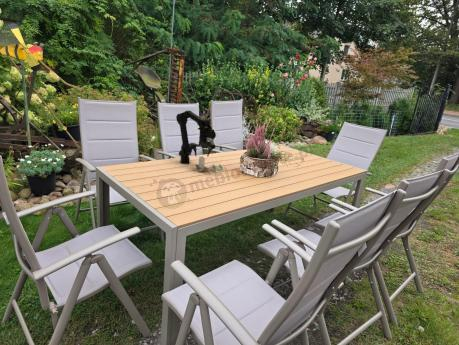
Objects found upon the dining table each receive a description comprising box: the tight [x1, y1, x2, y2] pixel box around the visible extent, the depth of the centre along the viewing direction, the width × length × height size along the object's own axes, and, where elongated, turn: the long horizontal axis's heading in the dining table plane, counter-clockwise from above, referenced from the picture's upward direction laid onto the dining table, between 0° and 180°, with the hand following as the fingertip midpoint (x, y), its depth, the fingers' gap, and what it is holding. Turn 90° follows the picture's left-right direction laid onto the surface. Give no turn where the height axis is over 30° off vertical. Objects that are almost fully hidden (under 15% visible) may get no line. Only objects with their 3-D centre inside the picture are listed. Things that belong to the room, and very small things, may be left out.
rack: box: [195, 164, 207, 171], centre depth 228 cm, size 6×11×2 cm, turn 18°
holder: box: [210, 163, 225, 171], centre depth 232 cm, size 8×9×3 cm
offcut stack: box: [197, 168, 210, 174], centre depth 221 cm, size 8×3×2 cm, turn 106°
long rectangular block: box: [198, 156, 206, 169], centre depth 227 cm, size 3×6×9 cm, turn 18°
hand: (201, 156), depth 225 cm, fingers open, 9 cm apart
